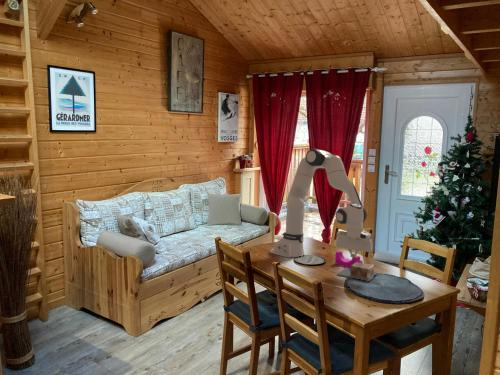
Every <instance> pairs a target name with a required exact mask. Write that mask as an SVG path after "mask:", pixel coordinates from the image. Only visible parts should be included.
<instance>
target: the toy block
mask: <svg viewBox="0 0 500 375" xmlns="http://www.w3.org/2000/svg"><path fill="white" fill-rule="evenodd" d="M356 262H360V263H363V260H361V256H360V255H357V256H356V258H354V257H351V259H349V258H348V257H347V258H345V257H344V255H343V251H341V250H337V251H335V257H334V263H335V265H336V264H337V265H338V266H341V267H345V268H346V267H351V265H353V264H354V263H356Z"/></svg>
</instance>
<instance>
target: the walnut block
mask: <svg viewBox="0 0 500 375" xmlns="http://www.w3.org/2000/svg"><path fill="white" fill-rule="evenodd" d="M374 272H375V265H374V264H371V263H364V262H362V263H360V262H356V263H354V264H353V265H351V275H356V276H361V277H366V278H369V277H370V276H371V275H372V274H374Z"/></svg>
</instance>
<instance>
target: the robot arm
mask: <svg viewBox="0 0 500 375" xmlns="http://www.w3.org/2000/svg"><path fill="white" fill-rule="evenodd" d="M318 169H319V170H325V172H326V176H327V181H328V183H329V185H330V186H331V187H332V188H333V189H336V190H339V191H341V192H343V193H345V194H346V195H347V197H348V200H349V201H350V204H348V205H347V206H345V207H340V208H338V209H337V210H336V213H335V220H336V221H337V223H338V224H340V225H346V231H344V230H343V231H342V230H340V231H337V232H336V240H335V242H336V243H335V246H336V247H337V248H342V249H347V250H348V252H349V254H350V257H349V258H352V257H354V258H356V256H358V255H357V254H358V253H359V252H365V253H366V252H367V253H371V252H372V251H373V249H374V248H373V247H374V246H373V240H372V233H370V232H368V231H366V230H364V226H363V223H365V222H366V220H367V218H368V214H367V211H366V208H365V207H364V205H363V203H362V201H361V199H360V196H359V193H358V190H357V189H356V186H355V184H354V183H353V181H351V180H350V178H349V177H348V176H347V175H348V174H347V172H346V168H345V165H344V162H343V161H342V158H341V157H340V156H339V155H334V154H332V153H331V152H330V151H326V150H323V149H318V148H311V149H310V150H308V151H307V152H306V154H305V157H303V158H302V159H301V160H300V162H299V164H298V166H297V169H296V171H295V175H294V178H293V181H292V184H291V187H290V189H289V193H288V195H287V197H286V218H285V232H283V233H281V235H282V238H280V239H279V240H277V241H276V242H274V244H273V248H271V249H270V254H272V255H273V254H274V255H277V256H281V257H284V258H299V256H301V257H304V256H306V255H305V249H304V218H305V200H306V198H307V194H308V193H309V190H310V187H311V184H312V180H313V178H314V175H315V172H316V170H318ZM353 250H354V252H355V253H353ZM303 255H304V256H303Z"/></svg>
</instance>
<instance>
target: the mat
mask: <svg viewBox="0 0 500 375" xmlns="http://www.w3.org/2000/svg"><path fill="white" fill-rule="evenodd" d="M374 274H377V275H378V274H379V272H376V271H374ZM336 275H337V276H339V277H344V278H347V279H348V278H349V279H352V278H357V279H362V280H368V281H370V280H371V279H370V278H366V277H361V276H356V275H351V267H345V268H343V269H342V270H341V271H339V272H338V273H337V274H336ZM357 279H356V280H357ZM362 280H361V281H362ZM371 281H372V280H371ZM371 281H370V282H371Z"/></svg>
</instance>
